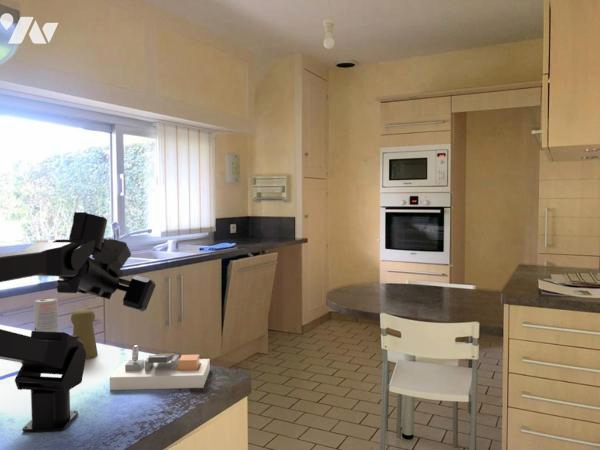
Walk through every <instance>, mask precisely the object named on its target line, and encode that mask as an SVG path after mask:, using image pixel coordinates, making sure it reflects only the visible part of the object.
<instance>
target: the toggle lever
mask: <svg viewBox="0 0 600 450" xmlns="http://www.w3.org/2000/svg"><path fill="white" fill-rule="evenodd" d="M139 351H140V347H139V345H137V344H136V345H134V346H133V347H132V351H131V360H133V361H137V360H139Z"/></svg>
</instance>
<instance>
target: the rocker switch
mask: <svg viewBox="0 0 600 450" xmlns="http://www.w3.org/2000/svg"><path fill="white" fill-rule="evenodd" d="M174 355H176V354H175V353H155V354H154V356H151V357H149V356H148V357H149V358H148V357H147V358H148V363H167V362H169V361H171V360H172V359H173V357H174Z"/></svg>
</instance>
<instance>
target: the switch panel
mask: <svg viewBox="0 0 600 450" xmlns="http://www.w3.org/2000/svg"><path fill="white" fill-rule="evenodd" d="M154 355H155V354H154ZM154 355H153V354H150V355H148V357H147V358H146V359H145V360H144V359H138V360H137V361H133V360H132V359H130V360H124V361H123V362H122V363H121V364H120V365H119V367H117V369H115V370H114V372H113V373H112V374H111V375H110V376H109V391H118V390H119V391H120V390H121V391H122V390H124V391H125V390H128V391H129V390H159V389H161V390H162V389H164V390H165V389H169V390H170V389H204V387H205V384H206V381H207V379H208V376H209V374H210V371H211V370H210V366H211V365H210V364H211V363H210V362H211V361H210V360H211V359H210V358H199V365H200V368H199V370H196V371H179V359H180V357H179V356H180V355H179V354H175V355H174V357H173V359H172V360H171V361H169V362H167V363H148V358H149V357H151V356H154Z"/></svg>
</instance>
